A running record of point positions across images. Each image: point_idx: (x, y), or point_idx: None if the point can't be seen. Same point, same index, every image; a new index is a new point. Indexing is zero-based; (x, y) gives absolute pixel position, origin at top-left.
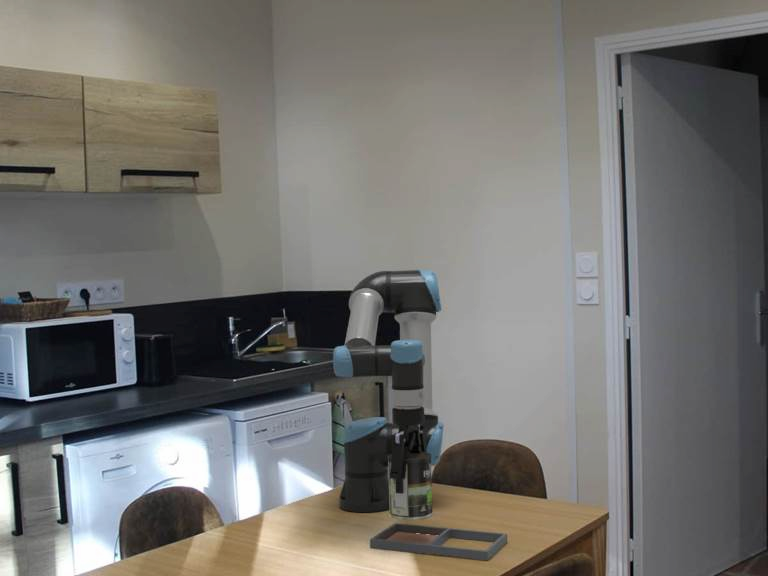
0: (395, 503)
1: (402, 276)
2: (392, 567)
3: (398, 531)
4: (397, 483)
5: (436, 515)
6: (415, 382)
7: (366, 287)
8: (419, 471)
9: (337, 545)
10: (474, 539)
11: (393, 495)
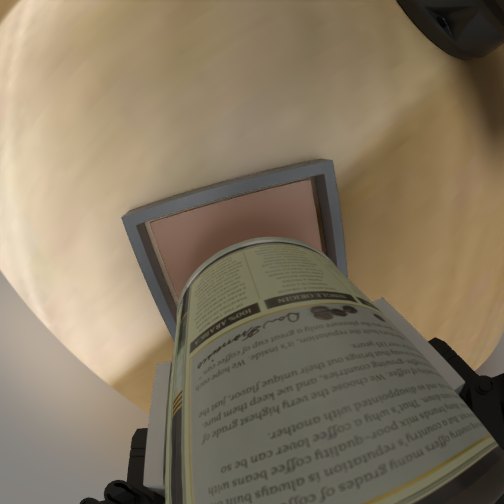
0: (155, 374)
1: None
2: (77, 347)
3: (315, 176)
4: (134, 477)
5: (462, 180)
6: None
7: None
8: None
9: (93, 111)
10: None
11: (171, 375)
